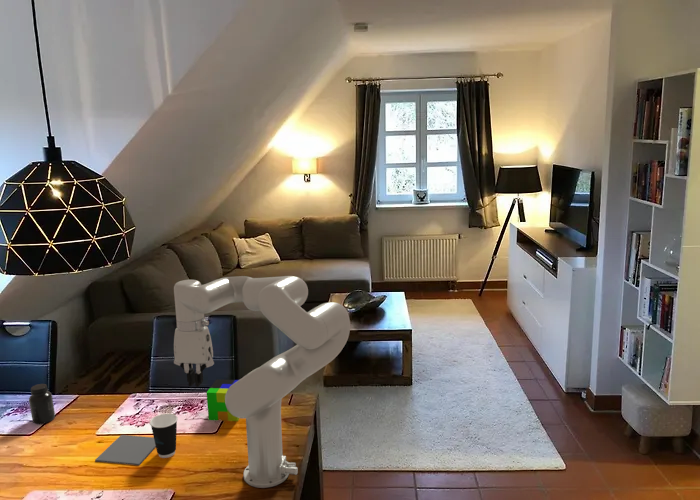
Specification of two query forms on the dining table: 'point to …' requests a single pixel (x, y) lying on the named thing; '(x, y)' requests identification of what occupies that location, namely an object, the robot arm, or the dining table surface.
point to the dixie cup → (164, 434)
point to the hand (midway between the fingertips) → (195, 384)
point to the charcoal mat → (128, 450)
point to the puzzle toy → (219, 401)
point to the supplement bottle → (41, 404)
